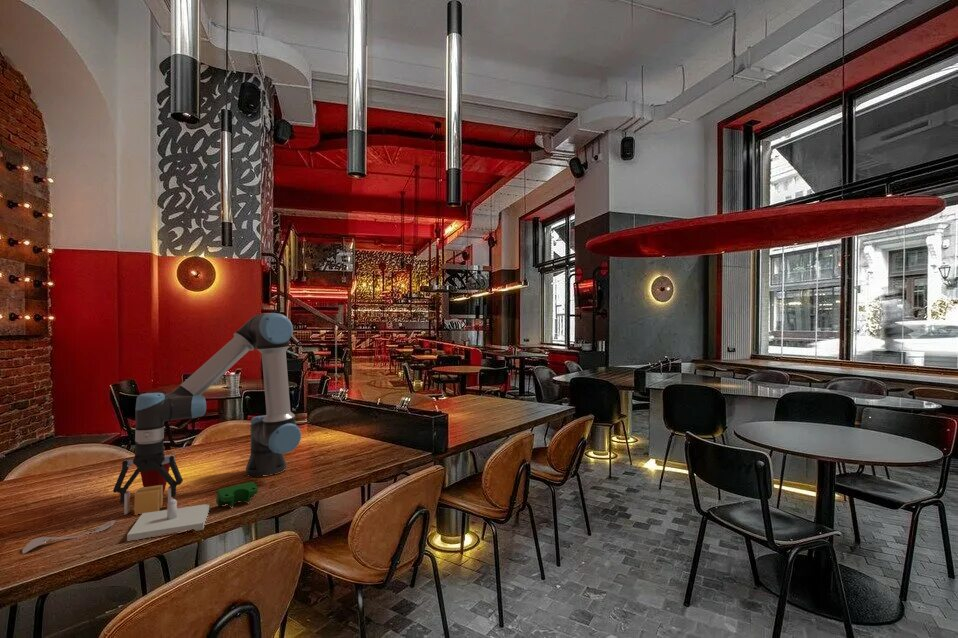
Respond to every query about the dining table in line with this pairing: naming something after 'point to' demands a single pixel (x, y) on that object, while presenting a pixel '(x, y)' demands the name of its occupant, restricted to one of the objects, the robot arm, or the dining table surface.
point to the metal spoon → (43, 540)
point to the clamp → (236, 493)
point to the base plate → (169, 520)
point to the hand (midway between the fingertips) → (148, 509)
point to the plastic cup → (154, 476)
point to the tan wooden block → (148, 499)
